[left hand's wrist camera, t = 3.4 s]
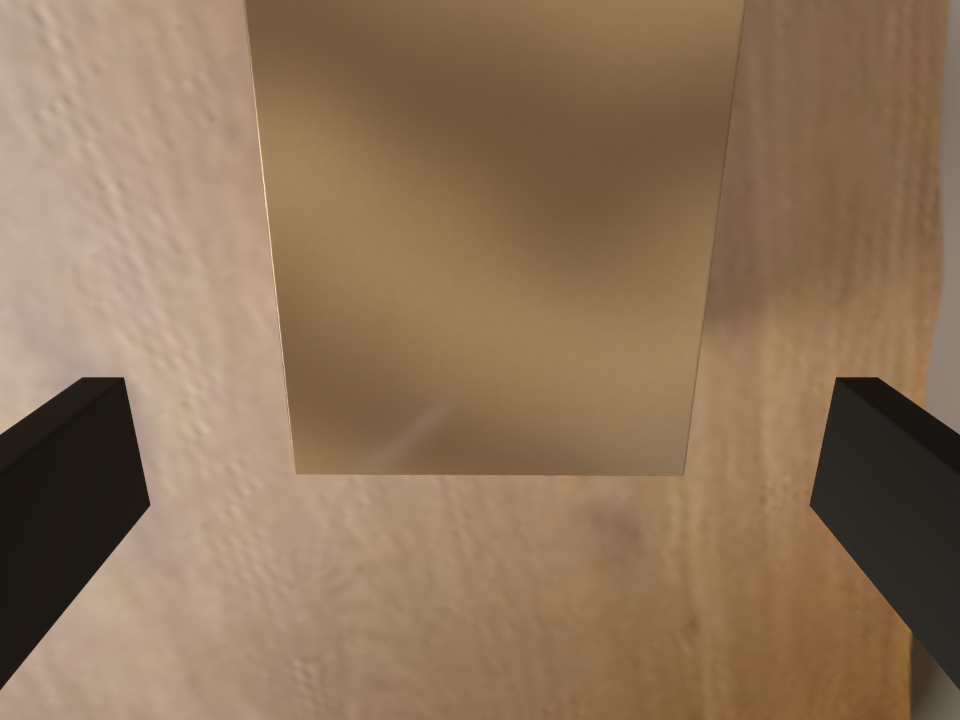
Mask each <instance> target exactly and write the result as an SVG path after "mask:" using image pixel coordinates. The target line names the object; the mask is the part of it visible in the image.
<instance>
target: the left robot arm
mask: <svg viewBox="0 0 960 720" xmlns="http://www.w3.org/2000/svg"><path fill="white" fill-rule="evenodd" d="M149 506H150V501H149V496H148V491H147V486H146V482H145V477H144V472H143V467H142V462H141V458H140V453H139V448H138V443H137V438H136V433H135V429H134V424H133V419H132V414H131V409H130V404H129V400H128V395H127V390H126V385H125V380H124V377H82V378H81V379H79V380H78V381H77V382H75V383H74V384H72V385H71V386H69V387H68V388H67V389H65V390H64V391H62V392H61V393H59V394H58V395H56V396H55V397H54V398H52V399H51V400H49V401H48V402H46V403H45V404H44V405H42V406H41V407H39V408H38V409H36V410H35V411H34V412H32V413H31V414H29V415H28V416H26V417H25V418H24V419H22V420H21V421H19V422H18V423H16V424H15V425H14V426H12V427H11V428H9V429H8V430H6V431H5V432H4V433H2V434H1V435H0V690H1V689H2V687H3V686H4V685H5V684H6V682H7V681H8V680H9V679H10V678H11V676H12V675H13V674H14V673H15V671H16V670H17V669H18V668H19V666H20V665H21V664H22V663H23V662H24V660H25V659H26V658H27V657H28V655H29V654H30V653H31V652H32V650H33V649H34V648H35V647H36V646H37V644H38V643H39V642H40V641H41V639H42V638H43V637H44V636H45V634H46V633H47V632H48V631H49V629H50V628H51V627H52V626H53V625H54V623H55V622H56V621H57V620H58V618H59V617H60V616H61V615H62V613H63V612H64V611H65V610H66V609H67V607H68V606H69V605H70V604H71V602H72V601H73V600H74V599H75V597H76V596H77V595H78V594H79V593H80V591H81V590H82V589H83V588H84V586H85V585H86V584H87V583H88V581H89V580H90V579H91V578H92V577H93V575H94V574H95V573H96V572H97V570H98V569H99V568H100V567H101V565H102V564H103V563H104V562H105V561H106V559H107V558H108V557H109V556H110V554H111V553H112V552H113V551H114V549H115V548H116V547H117V546H118V545H119V543H120V542H121V541H122V540H123V538H124V537H125V536H126V535H127V533H128V532H129V531H130V530H131V529H132V527H133V526H134V525H135V524H136V522H137V521H138V520H139V519H140V517H141V516H142V515H143V514H144V512H145V511H146V510H147V509H148V508H149ZM810 506H811V508H812V509H813V510H814V511H815V513H816V514H817V515H818V516H819V517H820V519H821V520H822V521H823V522H824V524H825V525H826V526H827V527H828V529H829V530H830V531H831V532H832V533H833V535H834V536H835V537H836V538H837V540H838V541H839V542H840V543H841V545H842V546H843V547H844V548H845V549H846V551H847V552H848V553H849V554H850V556H851V557H852V558H853V559H854V561H855V562H856V563H857V564H858V565H859V567H860V568H861V569H862V570H863V572H864V573H865V574H866V575H867V577H868V578H869V579H870V580H871V581H872V583H873V584H874V585H875V586H876V588H877V589H878V590H879V591H880V593H881V594H882V595H883V596H884V597H885V599H886V600H887V601H888V602H889V604H890V605H891V606H892V607H893V609H894V610H895V611H896V612H897V613H898V615H899V616H900V617H901V618H902V620H903V621H904V622H905V623H906V625H907V626H908V627H909V628H910V629H911V631H912V632H913V633H914V634H915V636H916V637H917V638H918V639H919V641H920V642H921V643H922V644H923V645H924V647H925V648H926V649H927V650H928V652H929V653H930V654H931V655H932V657H933V658H934V659H935V660H936V662H937V663H938V664H939V665H940V666H941V668H942V669H943V670H944V671H945V673H946V674H947V675H948V676H949V678H950V679H951V680H952V681H953V682H954V684H955V685H956V686H957V687H958V689H959V690H960V435H959V434H958V433H956V432H955V431H954V430H952V429H951V428H949V427H948V426H946V425H945V424H944V423H942V422H941V421H939V420H938V419H936V418H935V417H934V416H932V415H931V414H929V413H928V412H926V411H925V410H924V409H922V408H921V407H919V406H918V405H916V404H915V403H914V402H912V401H911V400H909V399H908V398H906V397H905V396H904V395H902V394H901V393H899V392H898V391H896V390H895V389H893V388H892V387H891V386H889V385H888V384H886V383H885V382H883V381H882V380H881V379H879V378H878V377H836V380H835V385H834V390H833V395H832V400H831V404H830V409H829V414H828V419H827V424H826V429H825V433H824V438H823V443H822V448H821V453H820V458H819V462H818V467H817V472H816V477H815V482H814V486H813V491H812V496H811V501H810Z"/></svg>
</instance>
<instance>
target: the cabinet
mask: <svg viewBox="0 0 960 720" xmlns="http://www.w3.org/2000/svg"><path fill="white" fill-rule="evenodd" d="M243 2H244V12H245V21H246V30H247V39H248V49H249V58H250V67H251V76H252V86H253V95H254V104H255V114H256V123H257V132H258V141H259V151H260V160H261V169H262V178H263V188H264V197H265V206H266V215H267V225H268V234H269V243H270V253H271V262H272V271H273V280H274V290H275V299H276V308H277V317H278V327H279V336H280V345H281V355H282V364H283V373H284V382H285V392H286V401H287V410H288V419H289V429H290V438H291V447H292V457H293V466H294V473H295V474H363V475H611V476H682V475H684V470H685V462H686V455H687V447H688V439H689V432H690V424H691V416H692V409H693V401H694V394H695V386H696V378H697V371H698V363H699V355H700V348H701V340H702V332H703V325H704V317H705V309H706V302H707V294H708V286H709V279H710V271H711V263H712V256H713V248H714V241H715V233H716V225H717V218H718V210H719V202H720V195H721V187H722V179H723V172H724V164H725V156H726V149H727V141H728V133H729V126H730V118H731V110H732V103H733V95H734V88H735V80H736V72H737V65H738V57H739V49H740V42H741V34H742V26H743V19H744V11H745V3H746V0H243Z"/></svg>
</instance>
